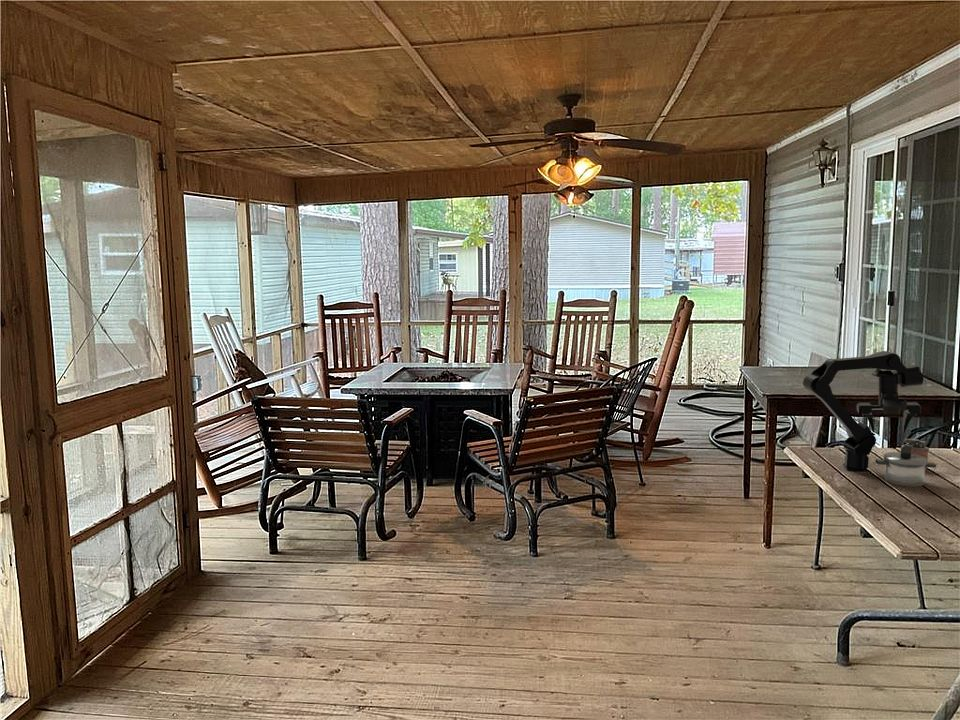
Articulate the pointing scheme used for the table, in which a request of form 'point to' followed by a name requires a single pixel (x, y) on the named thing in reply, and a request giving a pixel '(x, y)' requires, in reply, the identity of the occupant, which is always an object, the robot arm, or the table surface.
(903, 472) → the pot
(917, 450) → the lighter
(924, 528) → the table surface
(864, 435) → the robot arm
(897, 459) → the lid
